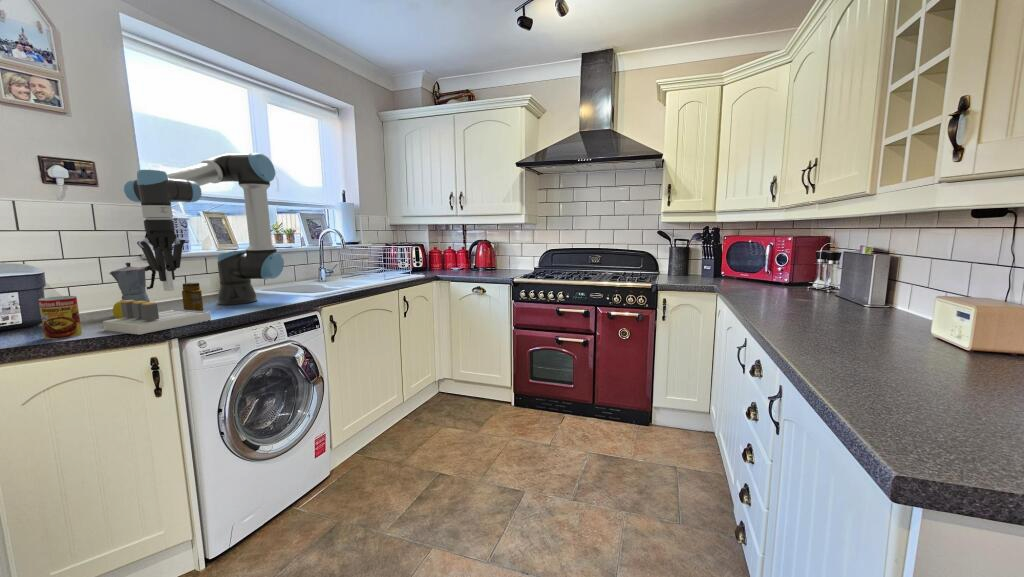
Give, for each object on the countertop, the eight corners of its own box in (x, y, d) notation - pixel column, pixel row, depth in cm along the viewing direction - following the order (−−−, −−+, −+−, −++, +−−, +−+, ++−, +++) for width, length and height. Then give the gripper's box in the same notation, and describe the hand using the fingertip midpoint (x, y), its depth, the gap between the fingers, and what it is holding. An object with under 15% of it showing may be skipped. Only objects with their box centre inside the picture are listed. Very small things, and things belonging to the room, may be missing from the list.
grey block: (153, 318, 136) (151, 301, 136) (158, 318, 135) (156, 302, 135) (142, 320, 134) (140, 303, 133) (148, 320, 133) (146, 303, 132)
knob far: (133, 315, 141) (131, 299, 141) (138, 316, 140) (136, 300, 140) (122, 317, 139) (120, 300, 138) (128, 317, 138) (125, 301, 137)
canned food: (40, 341, 122) (34, 300, 121) (49, 335, 129) (42, 297, 127) (78, 336, 127) (72, 298, 125) (84, 332, 133) (79, 295, 132)
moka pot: (107, 315, 160) (99, 263, 157) (150, 308, 174) (144, 260, 172) (125, 316, 157) (118, 263, 155) (168, 309, 172) (162, 260, 169)
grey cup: (144, 316, 139) (142, 300, 139) (150, 317, 138) (148, 301, 138) (133, 318, 137) (131, 301, 136) (139, 319, 135) (137, 302, 135)
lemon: (119, 321, 150) (116, 299, 148) (138, 319, 151) (135, 298, 150) (110, 324, 144) (107, 301, 143) (130, 322, 146) (127, 300, 145)
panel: (178, 317, 156) (177, 308, 155) (211, 320, 150) (210, 311, 149) (104, 330, 135) (103, 320, 135) (138, 334, 129) (137, 324, 129)
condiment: (204, 311, 167) (201, 281, 166) (206, 314, 161) (202, 283, 159) (181, 313, 163) (178, 283, 161) (182, 317, 156) (178, 285, 155)
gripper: (142, 219, 128) (153, 294, 132) (187, 218, 140) (196, 287, 144) (127, 219, 131) (139, 293, 135) (173, 219, 143) (182, 286, 147)
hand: (169, 290), depth 139 cm, fingers closed
